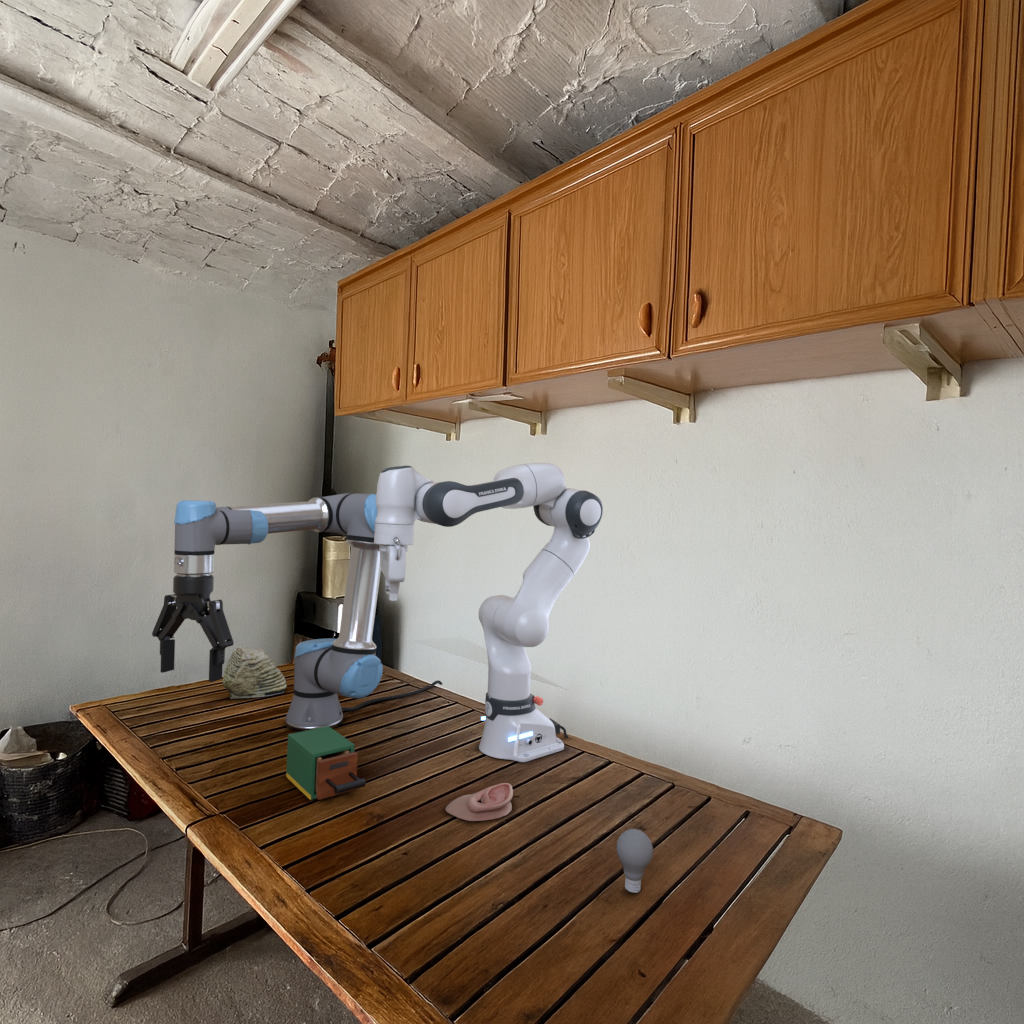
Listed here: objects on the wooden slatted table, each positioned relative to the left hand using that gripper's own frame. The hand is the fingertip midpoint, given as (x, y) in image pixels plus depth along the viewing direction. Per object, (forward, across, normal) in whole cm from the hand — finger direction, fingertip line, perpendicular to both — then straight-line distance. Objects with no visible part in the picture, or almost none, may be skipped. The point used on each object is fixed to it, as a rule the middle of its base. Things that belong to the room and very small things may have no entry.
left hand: (190, 675), depth 132 cm
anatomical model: (+25, +58, +21) cm, 66 cm away
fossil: (+25, -36, +56) cm, 71 cm away
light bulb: (+25, +92, +7) cm, 96 cm away
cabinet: (+25, +21, +16) cm, 36 cm away
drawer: (+24, +26, +13) cm, 38 cm away
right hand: (-16, +32, +26) cm, 44 cm away
